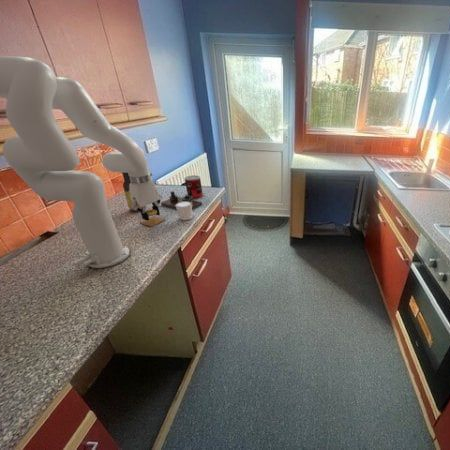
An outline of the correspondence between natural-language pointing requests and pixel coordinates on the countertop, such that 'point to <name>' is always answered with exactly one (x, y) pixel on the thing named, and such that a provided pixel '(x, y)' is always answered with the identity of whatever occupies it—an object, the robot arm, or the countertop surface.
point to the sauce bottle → (127, 190)
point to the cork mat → (152, 221)
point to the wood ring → (187, 199)
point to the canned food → (193, 186)
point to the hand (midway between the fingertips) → (151, 216)
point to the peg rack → (175, 200)
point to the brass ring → (151, 211)
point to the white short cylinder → (184, 210)
